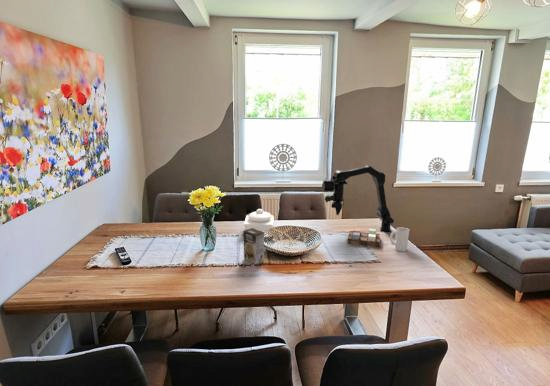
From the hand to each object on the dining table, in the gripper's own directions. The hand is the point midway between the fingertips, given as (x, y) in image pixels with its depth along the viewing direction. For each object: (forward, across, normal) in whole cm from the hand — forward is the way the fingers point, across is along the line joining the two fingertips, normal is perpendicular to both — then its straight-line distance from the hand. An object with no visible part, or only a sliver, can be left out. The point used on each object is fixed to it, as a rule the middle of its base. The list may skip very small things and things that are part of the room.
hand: (337, 215), depth 208 cm
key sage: (+9, +6, +22) cm, 24 cm away
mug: (+12, +15, +36) cm, 41 cm away
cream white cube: (+10, +13, +22) cm, 27 cm away
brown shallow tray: (+12, +9, +17) cm, 23 cm away
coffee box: (+12, +52, -37) cm, 65 cm away
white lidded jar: (+12, +14, -47) cm, 51 cm away
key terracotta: (+10, +6, +12) cm, 17 cm away
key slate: (+10, +13, +13) cm, 21 cm away
